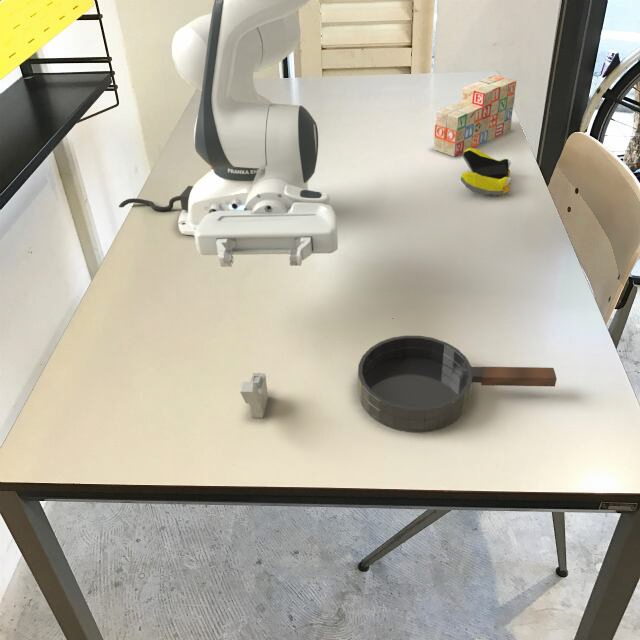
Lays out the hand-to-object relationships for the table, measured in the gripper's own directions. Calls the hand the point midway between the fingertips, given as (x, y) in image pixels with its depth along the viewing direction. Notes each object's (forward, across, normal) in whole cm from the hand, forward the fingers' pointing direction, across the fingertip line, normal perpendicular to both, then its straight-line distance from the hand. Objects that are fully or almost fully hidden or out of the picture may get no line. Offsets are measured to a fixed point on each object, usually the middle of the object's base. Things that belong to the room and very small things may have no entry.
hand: (260, 261), depth 93 cm
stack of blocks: (-81, +37, +17) cm, 91 cm away
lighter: (+12, -1, +17) cm, 21 cm away
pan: (+7, +20, +17) cm, 27 cm away
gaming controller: (-57, +37, +17) cm, 71 cm away
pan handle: (+7, +33, +15) cm, 37 cm away
